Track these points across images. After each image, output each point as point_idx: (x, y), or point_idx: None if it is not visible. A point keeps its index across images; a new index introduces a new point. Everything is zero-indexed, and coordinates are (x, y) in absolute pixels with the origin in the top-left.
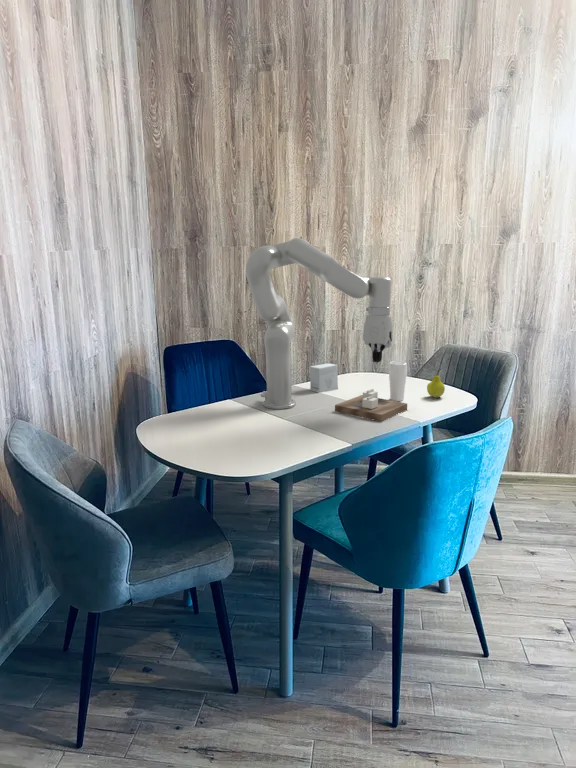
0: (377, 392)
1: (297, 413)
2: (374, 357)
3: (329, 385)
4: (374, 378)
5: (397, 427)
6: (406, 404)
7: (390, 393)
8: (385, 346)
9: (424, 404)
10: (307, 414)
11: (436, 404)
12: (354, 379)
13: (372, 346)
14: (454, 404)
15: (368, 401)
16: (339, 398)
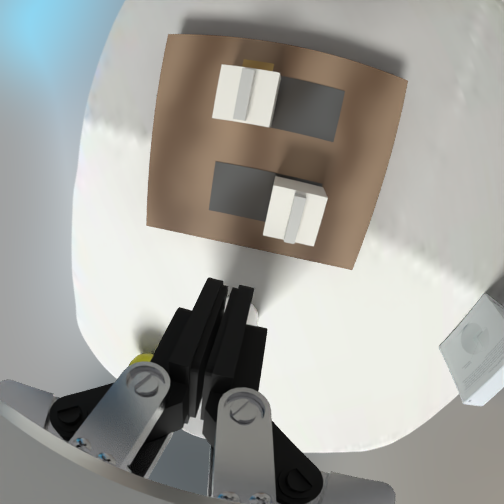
0: (263, 233)
1: (485, 37)
2: (227, 315)
3: (465, 333)
4: (353, 434)
5: (116, 25)
6: (147, 218)
7: (251, 318)
8: (43, 405)
9: (144, 295)
10: (458, 30)
11: (122, 304)
12: (398, 417)
13: (245, 450)
14: (94, 316)
15: (243, 67)
16: (427, 259)
